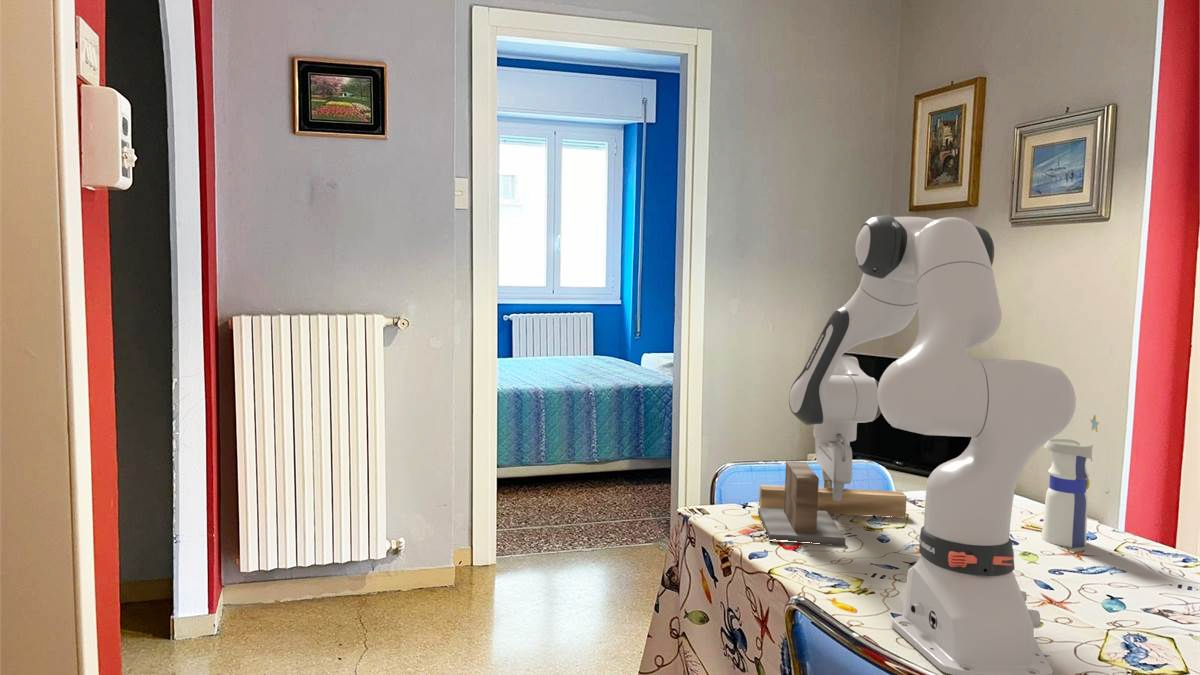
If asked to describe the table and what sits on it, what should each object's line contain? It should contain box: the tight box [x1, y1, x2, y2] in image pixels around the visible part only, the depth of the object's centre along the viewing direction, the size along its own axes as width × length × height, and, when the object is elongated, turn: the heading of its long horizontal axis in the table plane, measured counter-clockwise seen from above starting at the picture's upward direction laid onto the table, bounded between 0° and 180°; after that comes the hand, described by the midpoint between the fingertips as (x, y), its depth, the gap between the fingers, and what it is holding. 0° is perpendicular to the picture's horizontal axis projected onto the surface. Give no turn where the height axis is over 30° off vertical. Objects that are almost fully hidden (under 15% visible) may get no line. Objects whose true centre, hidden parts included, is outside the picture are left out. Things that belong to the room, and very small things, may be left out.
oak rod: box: [758, 484, 908, 519], centre depth 179 cm, size 4×30×5 cm, turn 85°
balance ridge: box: [757, 461, 846, 546], centre depth 166 cm, size 18×14×12 cm
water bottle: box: [1041, 414, 1100, 548], centre depth 163 cm, size 8×9×25 cm
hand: (831, 494), depth 179 cm, fingers open, 8 cm apart
